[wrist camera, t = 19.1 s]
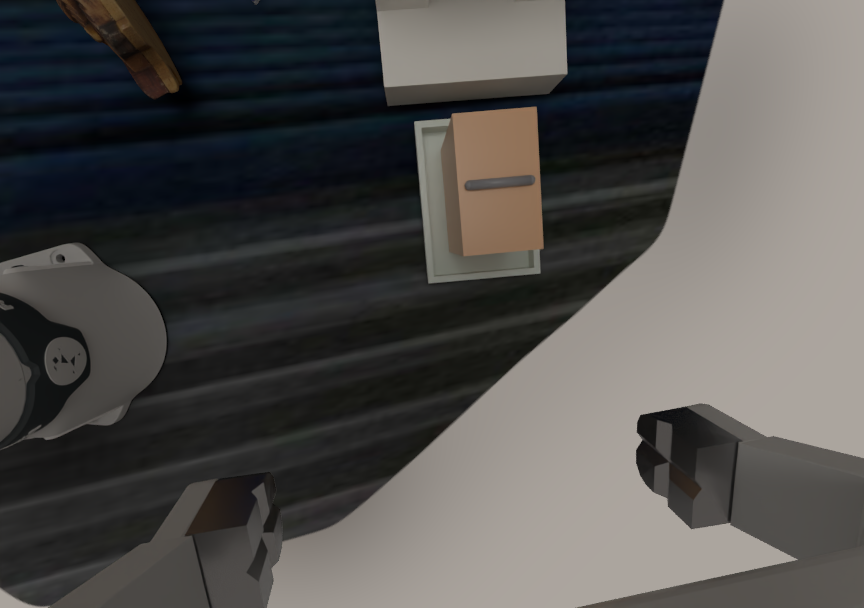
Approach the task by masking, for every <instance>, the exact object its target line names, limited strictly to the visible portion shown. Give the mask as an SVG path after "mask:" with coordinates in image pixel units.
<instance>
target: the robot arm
mask: <svg viewBox="0 0 864 608" xmlns="http://www.w3.org/2000/svg"><path fill="white" fill-rule="evenodd" d="M62 256H64V257H65V262H64V261H63V260H62ZM166 346H167V338H166V329H165V325H164V322H163V319H162V316H161V314H160V311H159V309H158V308H157V306H156V304H155V303H154V301H153V300H152V298H151V297H150V296H149V295H148V293H147V292H146V291H145V290H144V289H143V288H142V287H141V286H139V285H138V284H137V283H136V282H134V281H133V280H132V279H130V278H129V277H127V276H125V275H123V274H121V273H119V272H117V271H115V270H113V269H111V268H110V267H108V266H106V265H105V264H103V262H102V261H101V260H100V259H99V258H98V257H97V256H96V255H95V254H94V253H93V252H92V251H91V250H90V249H89V248H88V247H87V246H85V245H83V244H81V243H69V244H64V245H60V246H57V247H53V248H50V249H47V250H43V251H40V252H36V253H33V254H29V255H26V256H22V257H19V258H16V259H12V260H9V261H5V262H2V263H0V450H2V449H5V448H7V447H9V446H12V445H14V444H16V443H18V442H20V441H22V440H24V439H32V438H44V439H45V440H50V439H54V438H57V437H59V436H61V435H64V434H66V433H68V432H70V431H72V430H74V429H76V428H79V427H81V426H83V425H85V424H93V425H111V424H114V423H116V422H118V421H120V420H121V419H122V418H123V417H124V415H125V414H126V412H127V410H128V408H129V405H130V403H131V401H132V399H133V398H134V397H135V396H136V395H137V394H138V393H140V392H141V391H142V390H143V389H145V388H146V387H147V386H148V385H149V384H150V383H151V382H152V381H153V380H154V378H155V377H156V375H157V374H158V372H159V371H160V369H161V366H162V364H163V361H164V358H165V354H166ZM637 433H638V434H639V436H640V437H641V438H642V442H641V444H640V445H639V446H638V448H637V450H636V464H637V466H638V470H639V473H640V476H641V477H642V479H643V481H644V482H645V484H646V485H647V486H648V487H649V488H650V489H651V490H652V491H653V492H654V493H656V494H659V495H661V496H664V497H666V498H667V499H668V507H669V508H670V509H671V510H672V511H673V512H674V513H675V514H676V515H677V516H678V517H680V518H681V519H682V520H683V521H684V522H685V523H686V524H687V525H688V526H689V527H690V528H691V529H694V528H700V527H707V526H713V525H719V524H726V523H731V525H732V526H734V527H736V528H738V529H740V530H741V531H743V532H746V533H747V534H749V535H751V536H753V537H755V538H757V539H759V540H761V541H763V542H765V543H767V544H769V545H771V546H773V547H775V548H777V549H779V550H780V551H782V552H784V553H787V554H788V555H791V556H792V557H794V558H796V559H798V560H796V561H792V562H787V563H782V564H777V565H773V566H768V567H763V568H759V569H754V570H749V571H745V572H740V573H735V574H731V575H726V576H721V577H717V578H712V579H707V580H703V581H698V582H693V583H689V584H684V585H679V586H675V587H670V588H666V589H661V590H656V591H652V592H647V593H642V594H637V595H633V596H629V597H623V598H619V599H614V600H610V601H605V602H601V603H596V604H592V605H587V606H582V607H578V608H864V458H860V457H856V456H852V455H848V454H844V453H840V452H836V451H832V450H828V449H823V448H819V447H815V446H811V445H807V444H803V443H799V442H794V441H790V440H787V439H783V438H778V437H774V436H773V437H766V436H764V435H762V434H760V433H759V432H757V431H755V430H753V429H751V428H750V427H748V426H746V425H744V424H742V423H741V422H739V421H737V420H735V419H733V418H732V417H730V416H728V415H726V414H724V413H723V412H721V411H719V410H717V409H715V408H714V407H712V406H710V405H707V404H696V405H691V406H687V407H681V408H676V409H671V410H665V411H660V412H654V413H649V414H644V415H640V417H639V420H638V422H637ZM275 494H276V486H275V481H274V476H273V475H272V474H271V472H265V473H257V474H250V475H243V476H235V477H228V478H220V479H212V480H206V481H200V482H195V483H192V484H190V485H188V486H187V488H186V489H185V491H184V492H183V494H182V495H181V497H180V498H179V500H178V501H177V503H176V504H175V506H174V507H173V509H172V510H171V512H170V513H169V515H168V516H167V518H166V519H165V521H164V522H163V524H162V525H161V527H160V528H159V530H158V531H157V533H156V534H155V536H154V537H153V539H152V540H151V542H150V543H144V544H140V545H139V546H137V547H136V548H134V549H133V550H132V551H130V552H129V553H127V554H126V555H124V556H123V557H121V558H120V559H118V560H117V561H115V562H114V563H113V564H111V565H110V566H108V567H107V568H105V569H104V570H102V571H101V572H99V573H98V574H97V575H95V576H94V577H92V578H91V579H89V580H88V581H86V582H85V583H83V584H82V585H81V586H79V587H78V588H76V589H75V590H73V591H72V592H70V593H69V594H67V595H66V596H64V597H63V598H62V599H60V600H59V601H57V602H56V603H54V604H53V605H51V606H50V607H48V608H267V604H268V600H269V596H270V592H271V588H272V585H273V575H272V570H271V568H272V567H273V566H274V565H275V564H276V563H277V562H278V561H279V557H280V553H281V548H282V536H283V528H282V517H281V512H280V509H279V508H278V507H277V506H276V505H274V504H273V500H274V497H275Z"/></svg>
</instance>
